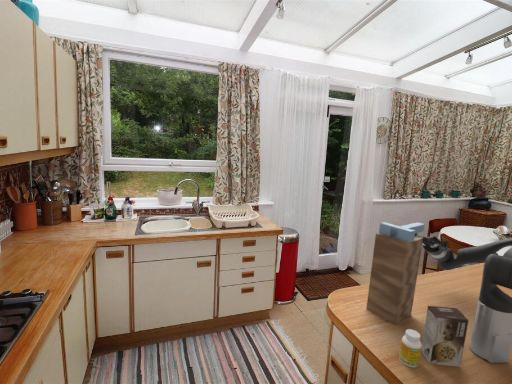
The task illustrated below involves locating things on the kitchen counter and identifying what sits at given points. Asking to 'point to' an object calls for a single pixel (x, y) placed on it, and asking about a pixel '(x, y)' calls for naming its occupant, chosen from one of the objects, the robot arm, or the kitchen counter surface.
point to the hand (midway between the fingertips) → (422, 235)
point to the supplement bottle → (410, 348)
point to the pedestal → (393, 277)
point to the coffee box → (444, 336)
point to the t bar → (401, 230)
